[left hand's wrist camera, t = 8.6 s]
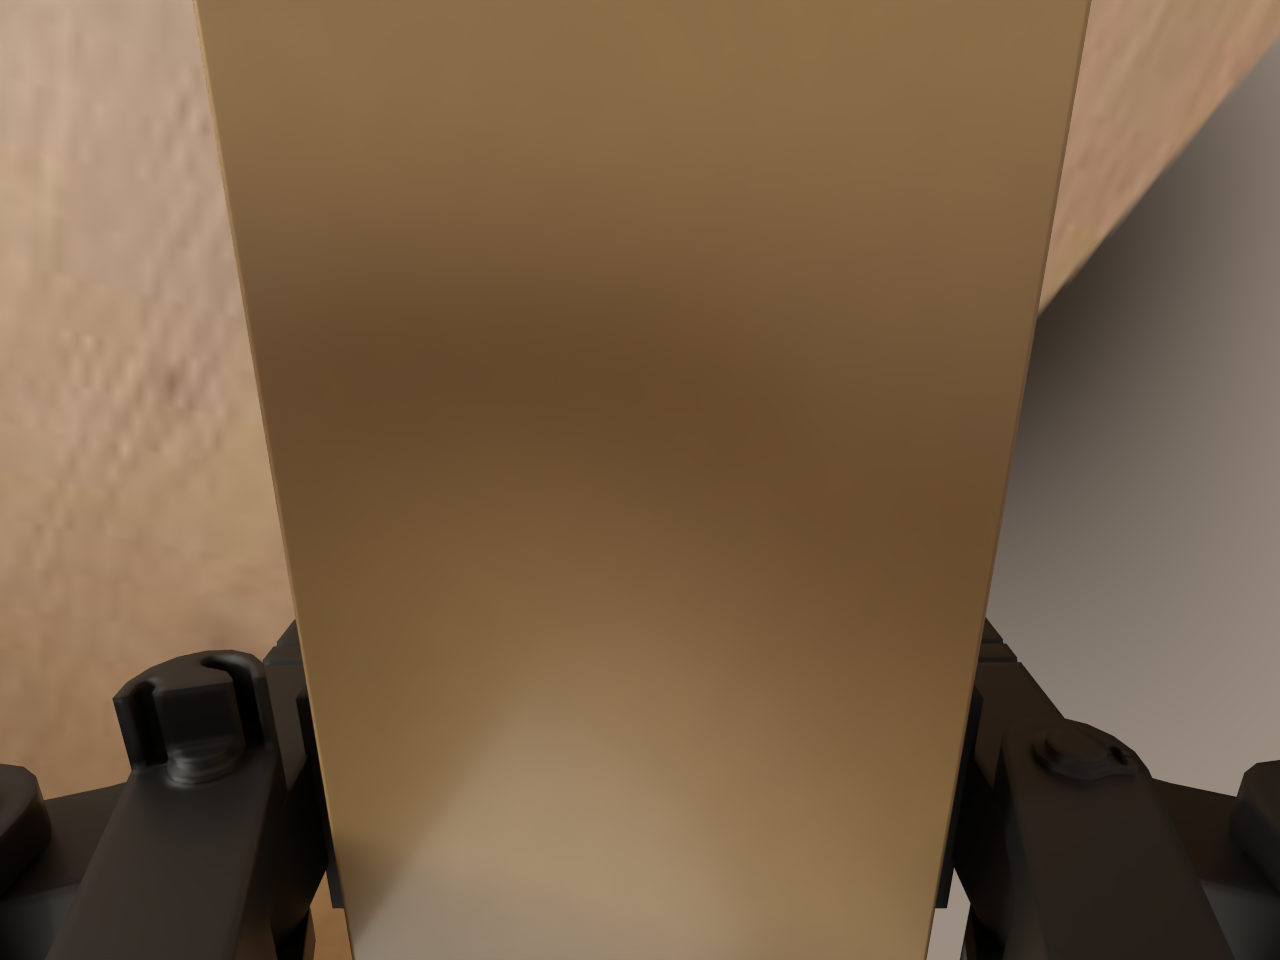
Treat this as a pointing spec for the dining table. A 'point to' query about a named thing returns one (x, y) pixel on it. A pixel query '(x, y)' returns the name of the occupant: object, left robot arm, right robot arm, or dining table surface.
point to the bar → (640, 444)
